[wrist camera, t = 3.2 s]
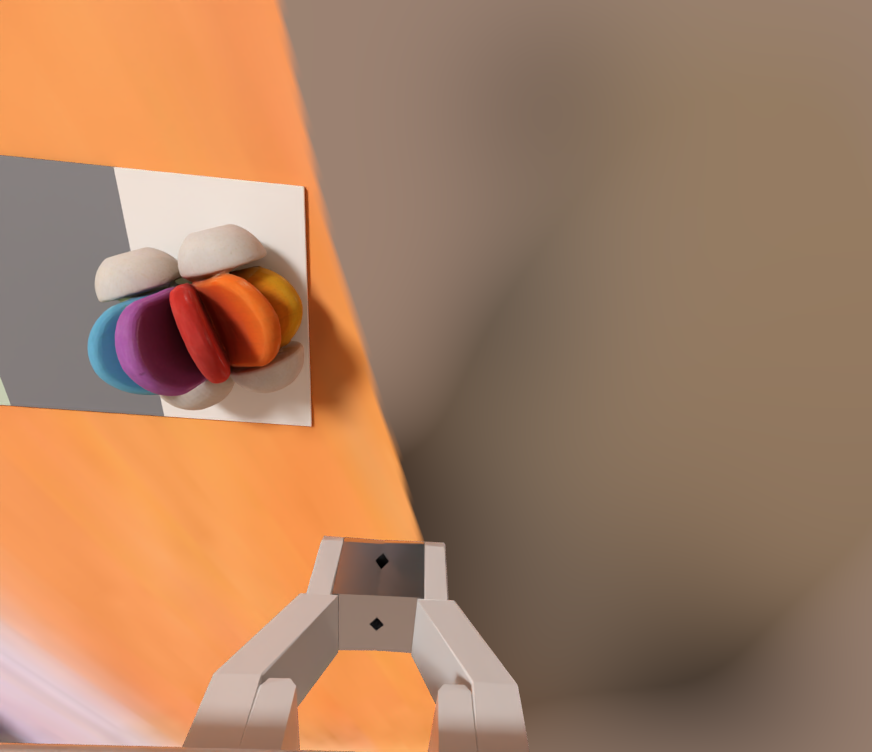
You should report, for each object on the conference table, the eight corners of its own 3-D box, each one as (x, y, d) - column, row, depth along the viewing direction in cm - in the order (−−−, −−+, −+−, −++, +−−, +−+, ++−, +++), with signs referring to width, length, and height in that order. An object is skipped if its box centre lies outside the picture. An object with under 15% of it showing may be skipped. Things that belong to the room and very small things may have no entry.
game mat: (-293, 124, 20) (-299, 124, 20) (304, 186, 22) (303, 186, 21) (-146, 392, 26) (-150, 394, 26) (311, 424, 28) (311, 426, 28)
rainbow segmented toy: (334, 358, 26) (302, 425, 19) (182, 395, 26) (102, 471, 20) (276, 209, 22) (213, 228, 15) (102, 257, 23) (-28, 295, 16)
